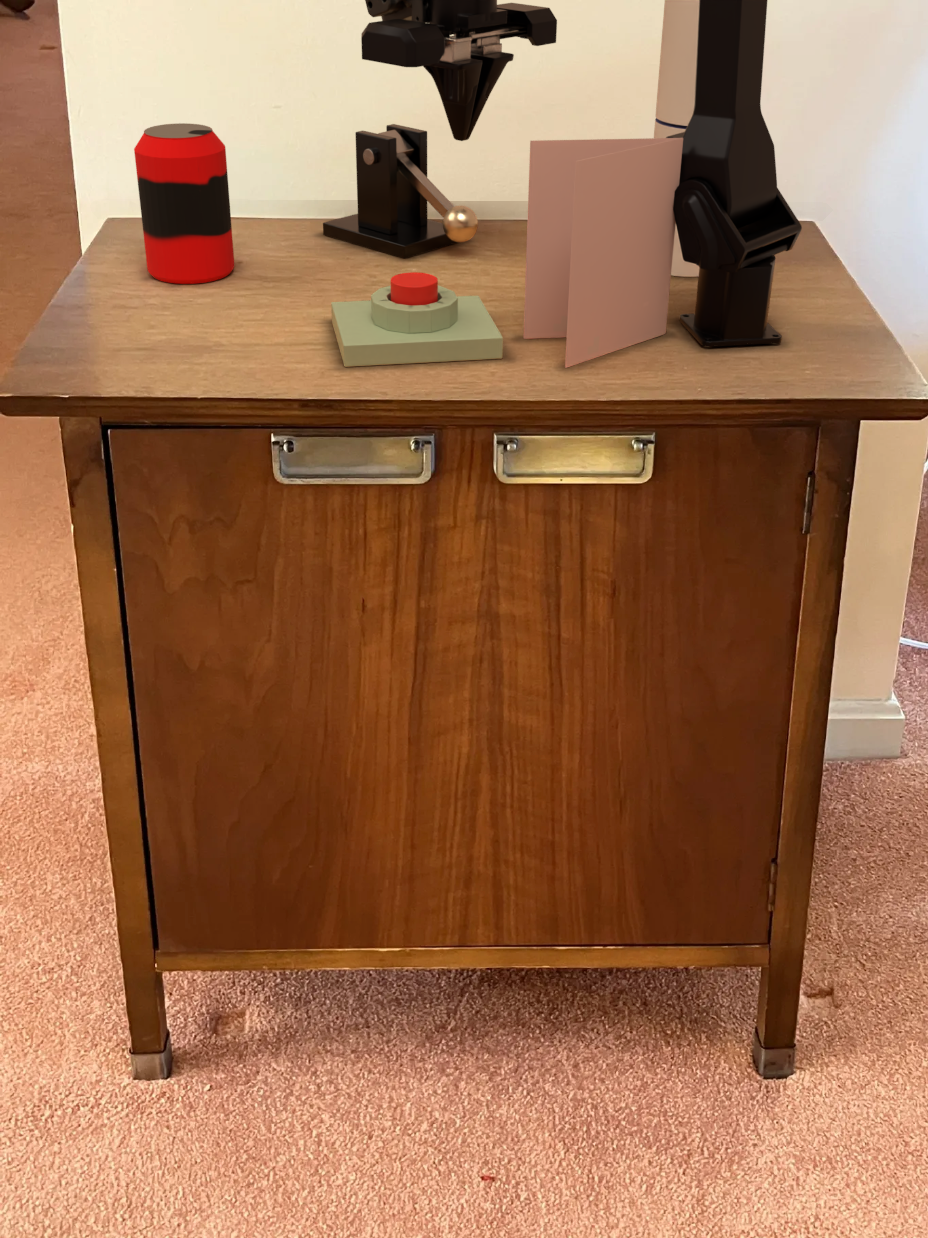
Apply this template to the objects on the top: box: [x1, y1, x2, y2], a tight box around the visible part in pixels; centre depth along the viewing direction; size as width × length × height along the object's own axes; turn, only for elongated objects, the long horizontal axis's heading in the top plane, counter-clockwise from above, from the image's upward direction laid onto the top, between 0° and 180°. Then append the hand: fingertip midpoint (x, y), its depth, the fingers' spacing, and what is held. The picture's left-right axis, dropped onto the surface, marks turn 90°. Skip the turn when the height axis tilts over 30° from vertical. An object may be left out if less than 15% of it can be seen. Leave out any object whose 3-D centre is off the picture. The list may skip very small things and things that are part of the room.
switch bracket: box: [322, 123, 459, 260], centre depth 128 cm, size 11×8×10 cm
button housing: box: [330, 284, 504, 368], centre depth 106 cm, size 10×12×4 cm
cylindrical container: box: [653, 0, 699, 278], centre depth 118 cm, size 7×7×25 cm
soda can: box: [133, 122, 235, 285], centre depth 118 cm, size 8×8×12 cm
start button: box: [390, 271, 439, 306], centre depth 104 cm, size 4×4×2 cm
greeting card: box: [523, 137, 683, 369], centre depth 101 cm, size 11×7×15 cm, turn 97°
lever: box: [377, 130, 479, 243], centre depth 125 cm, size 13×3×3 cm, turn 47°
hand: (461, 139), depth 120 cm, fingers closed
